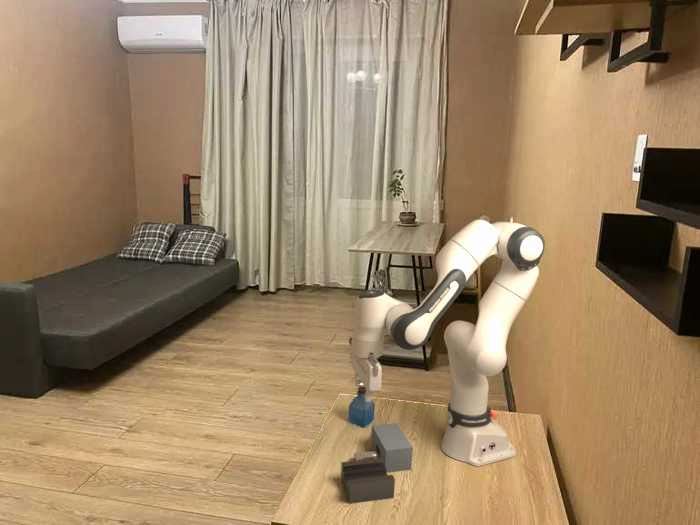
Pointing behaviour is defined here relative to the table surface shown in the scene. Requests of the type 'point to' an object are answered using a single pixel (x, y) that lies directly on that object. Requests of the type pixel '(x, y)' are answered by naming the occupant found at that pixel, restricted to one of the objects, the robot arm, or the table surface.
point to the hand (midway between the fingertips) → (363, 392)
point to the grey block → (392, 446)
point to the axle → (367, 455)
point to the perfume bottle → (361, 410)
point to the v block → (366, 480)
